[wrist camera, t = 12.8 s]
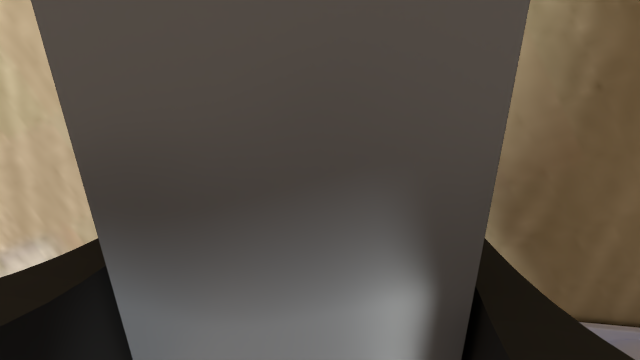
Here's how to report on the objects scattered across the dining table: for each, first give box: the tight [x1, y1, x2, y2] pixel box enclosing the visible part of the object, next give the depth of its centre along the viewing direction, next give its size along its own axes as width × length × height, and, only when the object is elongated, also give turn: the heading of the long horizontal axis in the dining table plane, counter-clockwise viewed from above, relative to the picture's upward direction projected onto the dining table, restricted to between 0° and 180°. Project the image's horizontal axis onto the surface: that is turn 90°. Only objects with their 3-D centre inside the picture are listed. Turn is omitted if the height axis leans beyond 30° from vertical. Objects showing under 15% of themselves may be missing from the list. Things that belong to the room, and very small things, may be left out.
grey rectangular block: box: [31, 0, 530, 360], centre depth 10 cm, size 6×12×6 cm, turn 0°
